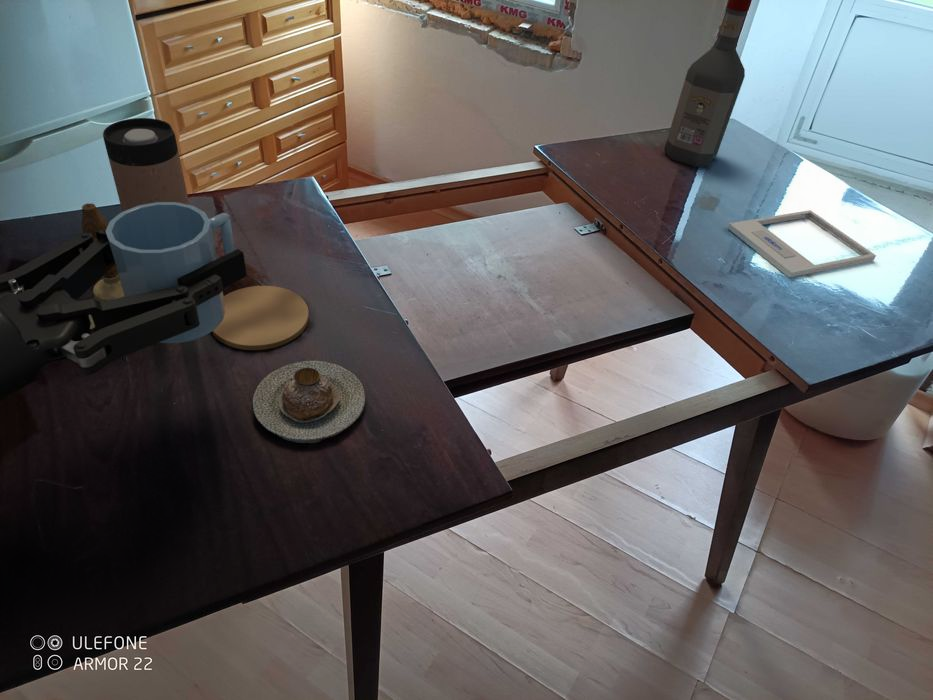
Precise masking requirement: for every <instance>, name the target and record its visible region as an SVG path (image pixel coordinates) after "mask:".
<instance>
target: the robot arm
mask: <svg viewBox="0 0 933 700" xmlns="http://www.w3.org/2000/svg"><path fill="white" fill-rule="evenodd" d="M105 231H106V230H99V231H96V232H95V233H96V236H97V239H96V238H93V235H92V234H91V233H89V232H85V233H83V232H82V233H79V234H77V235H76V236H74V237H72V238H70V239H68V240H66V241H65V242H62V243H61V244H59V245H57V246H56V247H53V248H52V249H50V250H48V251H45V253H43V254H41V255H39V256H37V257H36V258H33V259H32V260H30V261H28V262H26V263H24V264H22V265H20V266H19V267H18V268H16V269H13V270H10V271H7V272H4V273H1V274H0V400H2V399H4V398H6V397H8V396H9V395H12V394H13V393H15V392H17V391H19V390H21V389H23V388H25V387H27V386H29V385H30V384H33V383H34V382H36V380H37V379H38V377H39V374H40V371H41V369H42V368H43V367H44V366H46V365H48V364H51V363H53V362H58V361H63V360H66V359H69V360H70V361H73V362H75V363H77V364H78V365H79V368H80V370H81V373H82V374H83V375H86V376H87V375H88V376H90V375H94V374H96V373H97V372H98V371H100V370H102V369H103V368H105V367H106V366H107V365H109V364H110V363H112V362H113V361H116V360H118V359H121V358H123V357H126V356H128V355H130V354H131V355H132V354H133V353H135V352H138V351H141V350H144V349H146V348H148V347H151V346H153V345H156V344H160V342H161V341H164V340H166V339H169V338H171V337H174V336H176V335H179V334H181V333H184V332H186V331H189V330H191V329H194V328H196V327H198V326H199V325H200V322H199V317H198V312H197V306H198V305H200V304H202V303H203V302H205V301H207V300H209V299H211V298H213V297H214V296H217V295H218V294H220V293H221V292H222V291H223V292H224V289H225V288H227V287H230V286H231V285H234V284H235V283H238V282H239V281H240V280H242V279H244V278H246V277H247V276H248V275H247V268H246V260H245V255H244V254H245V253H244V251H242V250H241V249H239V248H237V249H235V251H233V252H231V253H229V254H227V255H225V254H224V255H222V256H221V257H219V258H218V257H217V259H216V260H214V261H212V262H210V263H208V264H206V265H204V266H202V267H200V268H198V269H196V270H194V271H192V272H190V273H188V274H186V275H184V276H182V277H180V278H178V279H177V280H178V284H179V286H176V287H171V288H166V289H161V290H157V291H152V292H147V293H142V294H137V295H133V296H128V297H123V298H118V299H113V300H109V301H104V302H99V301H97V300H96V299H94V298H89V299H84V300H79V299H80V298H81V297H82V296H83V295H84V294H85V293H87V291H89V290H90V289H91V288H92V287H93V286H95V285H96V283H97V282H99V281H100V280H101V279H102V278H103V275H104V274H105V273H106V272H108V271H109V270H110V269H111V268H112V267H113V266H114V265H115V263H114V260H113V256H112V253H111V249H110V246H109V243H108V239H107V236H106V232H105ZM80 249H81V250H82V252H80V251H81V250H80ZM173 300H175V302H173V303H172V301H173ZM89 315H91V316H92V319H93V322H94V325H95V327H94V328H92V329H90V326H91V322H90V319H89Z"/></svg>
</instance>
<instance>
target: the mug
mask: <svg viewBox="0 0 933 700" xmlns="http://www.w3.org/2000/svg"><path fill="white" fill-rule="evenodd" d="M107 224H108V227H107V229H106V231H105V232H106V236H107V239H108V243H109V246H110V249H111V253H112V256H113V260H114V263H115V266H116V270H117V273H118V277H119V280H120V283H121V287H122V290H123V294H124V297H128V296H133V295H137V294H142V293H147V292H152V291H157V290H161V289H166V288H171V287H176V286H179V284H178V280H177V279H178V278H180V277H182V276H184V275H186V274H188V273H190V272H192V271H194V270H196V269H198V268H200V267H202V266H204V265H206V264H208V263H210V262H212V261H214V260H216V259H218V257H217V251H216V245H215V240H214V235H213V230H214V229H216V228H219V227H220V234H221V240H222V246H223V252H224V256H225V255H227V254H229V253H231V252H233V251H235V250H236V249H235V242H234V236H233V235H234V234H233V229H232V222H231V216H230V215H229V214H228V213H227V212H221V213H219V214H217V215H213V216H212V217H209V216H208V215H207V213H206V212H205V211H204V210H202V209H200V208H198V207H196V206H195V205H192V204H189V205H187V204H182V203H178V202H177V203H176V202H156V203H150V204H144V205H139V206H136V207H133V208H131V209H128V210H126V211H123V212H122V211H121V212H120V213H118V214H117V215H116V216H114V217H113V218H112V219H111V220H110V221H109V222H108V223H107ZM224 296H225V295H224V290H223V291H222V292H221V293H220V294H218V295H217V296H214V297H213V298H211V299H209V300H207V301H205V302H203V303H202V304H200V305H198V306H197V312H198V317H199V322H200V325H199V326H198V327H196V328H194V329H191V330H189V331H186V332H184V333H181V334H179V335H176V336H174V337H171V338H169V339H166V340H164V341H161V342H159V344H161V343H162V344H181V343H186V342H191V341H194V340H198V339H200V338H203V337H205V336H207V335H209V334H210V333H212V331H213V330H214V329H216V328H217V327H218V326H219V325H220V323H221V322H222V320H223V318H224V315H225V307H224V306H225V302H224ZM173 302H175V300H173V301H172V303H173Z"/></svg>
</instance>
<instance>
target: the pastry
mask: <svg viewBox="0 0 933 700" xmlns="http://www.w3.org/2000/svg"><path fill="white" fill-rule="evenodd" d="M365 403H366V391H365V388H364V385H363V383H362V381H361V380H360V379H359V378H358V377H357V376H356V375H355V374H354V373H353V372H351V371H350V370H349V369H347V368H345V367H342V366H341V365H339V364H335V363H331V362H328V361H323V360H303V361H298V362H294V363H290V364H286V365H283V366H282V367H280V368H278V369H276V370H273V371H272V372H271V373H268V374H267V375H266V376H265V377H264V378H263V379H262V380H261V381H260V382H259V384H258V385H257V387H256V389H255V391H254V394H253V396H252V410H253V414H254V416H255V418H256V419H257V421H258V422H259V423H260V424H261V426H263V427H264V428H265V429H266V430H267V431H269V432H271V433H272V434H273V435H276V436H278V437H279V438H281V439H282V440H285V441H288V442H293V443H298V444H306V443H308V444H315V443H320V442H321V441H322V440H325V439H329V438H333V437H335V436H337V435H339V434H340V433H341V432H343V431H344V430H347V429H348V428H349V427H350V426H352V425H353V424H354V423H355V422H356V421H357V420H358V419H359V417H361V414H362V413H363V411H364V407H365Z"/></svg>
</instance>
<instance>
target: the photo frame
mask: <svg viewBox="0 0 933 700" xmlns="http://www.w3.org/2000/svg"><path fill="white" fill-rule="evenodd" d="M805 218H808V219H810V220H811V221H813V222H814V223H816V224H817V225H818V226H819V227H821V228H822V229H824V230H825V231H827V232H829V233H830V234H831V235H833V236H834V237H836V238H837V239H838V240H840V242H842V243H844V244H845V245H847V246H849V247H850V248H851V249H853V250H854V251H855V252H857V253H858V254H860V255H857V256H853V257H849V258H843V259H838V260H833V261H828V262H822V263H818V264H814V263H813V262H812V261H810V259H809V260H808V259H807V258H806V257H805V256H804V255H802V254H801V253H800V252H798V251H797V250H795V249H794V248H793V247H791V245H789V244H787V243H786V242H785V241H784V240H782V239H781V238H780V237H778V236H777V234H775V233H773V231H770V229H768V228H767V227H765V226H764V225H769V224H775V223H783V222H787V221H794V220H800V219H805ZM727 229H728V230H729V231H730V232H732V233H733V234H734V235H735V236H736V237H738V238H739V239H740V240H742V241H743V242H744V243H745V244H747V245H748V246H749V247H750V248H752V250H754V251H755V252H757V253H758V254H759V255H760V256H761V257H763V258H764V259H765V260H766V261H768V262H769V263H770V264H771V265H772V266H774V267H775V268H776V269H778V270H779V271H780V272H782V273H783V274H784V275H785V276H787V278H790V279H791V278H795V277H800V276H804V275H808V274H815V273H819V272H825V271H829V270H835V269H839V268H843V267H848V266H854V265H858V264H862V263H868V262H873V261H875V259H876V257H877V255H876V254H875V253H874V252H872V251H870V250H869V249H868V248H867V247H865V246H863V245H862V244H860V243H859V242H858V241H856V240H854V239H853V238H851V237H850V236H849V235H848V234H846V233H844V232H843V231H842V230H840V229H838V228H837V227H836V226H834V225H833V224H831V223H830V222H829V221H827V220H826V219H824V218H823V217H821V216H819V215H818V214H817V213H815V212H814V211H812V210H811V209H809V210H802V211H797V212H791V213H785V214H778V215H771V216H766V217H759V218H754V219H748V220H747V219H746V220H741V221H734V222H729V223H728V226H727Z"/></svg>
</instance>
